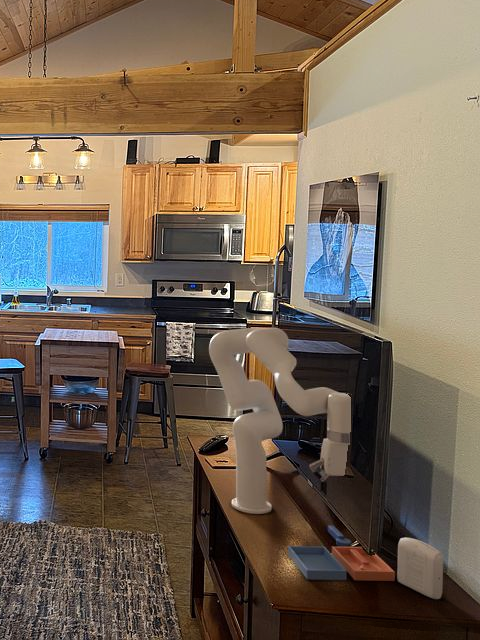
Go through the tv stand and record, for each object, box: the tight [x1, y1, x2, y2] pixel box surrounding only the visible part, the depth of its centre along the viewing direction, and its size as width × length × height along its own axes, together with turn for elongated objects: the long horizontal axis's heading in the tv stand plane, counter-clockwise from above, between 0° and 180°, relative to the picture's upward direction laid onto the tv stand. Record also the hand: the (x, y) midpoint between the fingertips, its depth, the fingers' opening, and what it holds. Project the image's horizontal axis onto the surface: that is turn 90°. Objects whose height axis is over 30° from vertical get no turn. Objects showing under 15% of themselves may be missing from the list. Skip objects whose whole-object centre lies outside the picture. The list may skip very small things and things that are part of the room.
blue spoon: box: [327, 524, 352, 547], centre depth 193 cm, size 11×4×2 cm, turn 175°
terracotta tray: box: [331, 546, 396, 582], centre depth 176 cm, size 14×10×2 cm
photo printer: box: [396, 537, 444, 600], centre depth 164 cm, size 10×4×12 cm, turn 23°
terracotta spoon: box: [350, 549, 377, 571], centre depth 176 cm, size 11×4×2 cm, turn 175°
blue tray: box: [287, 545, 348, 581], centre depth 177 cm, size 14×10×2 cm
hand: (340, 493), depth 189 cm, fingers open, 9 cm apart
